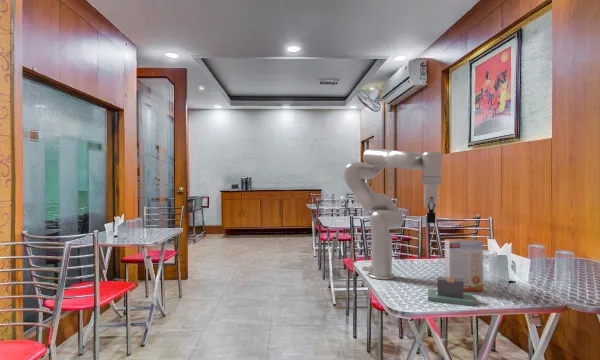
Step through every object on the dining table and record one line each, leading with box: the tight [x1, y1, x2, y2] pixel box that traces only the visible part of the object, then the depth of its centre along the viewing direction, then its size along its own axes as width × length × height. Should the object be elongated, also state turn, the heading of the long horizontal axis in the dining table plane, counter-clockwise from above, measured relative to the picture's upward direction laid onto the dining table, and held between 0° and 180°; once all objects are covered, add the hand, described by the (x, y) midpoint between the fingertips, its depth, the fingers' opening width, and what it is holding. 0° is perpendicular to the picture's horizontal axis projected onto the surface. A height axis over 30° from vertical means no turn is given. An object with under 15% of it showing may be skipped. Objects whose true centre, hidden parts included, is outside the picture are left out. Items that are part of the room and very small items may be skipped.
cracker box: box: [444, 238, 484, 292], centre depth 154 cm, size 14×6×21 cm, turn 89°
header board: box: [427, 288, 476, 307], centre depth 140 cm, size 16×12×6 cm
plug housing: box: [436, 276, 465, 298], centre depth 140 cm, size 9×5×6 cm, turn 71°
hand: (431, 221), depth 153 cm, fingers open, 9 cm apart
